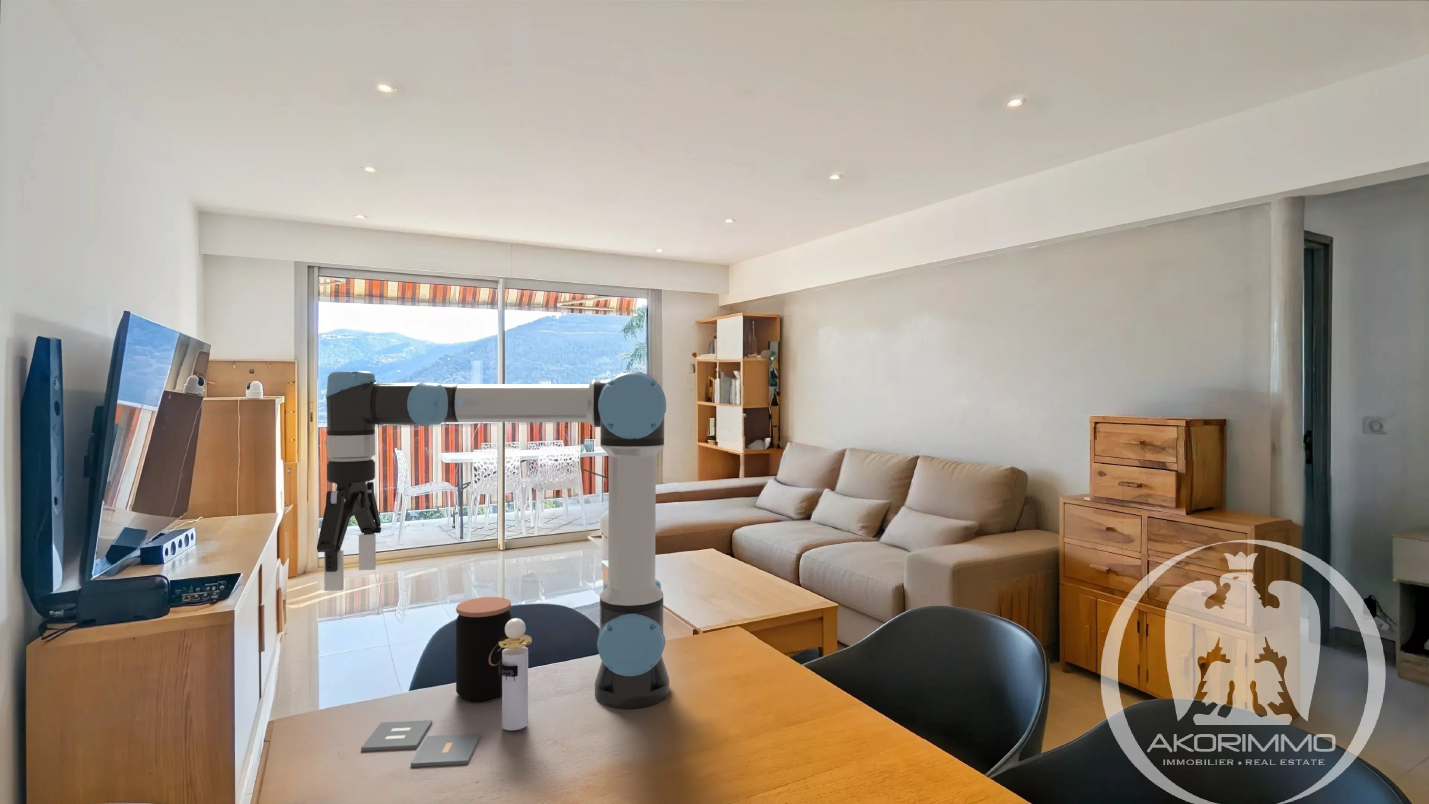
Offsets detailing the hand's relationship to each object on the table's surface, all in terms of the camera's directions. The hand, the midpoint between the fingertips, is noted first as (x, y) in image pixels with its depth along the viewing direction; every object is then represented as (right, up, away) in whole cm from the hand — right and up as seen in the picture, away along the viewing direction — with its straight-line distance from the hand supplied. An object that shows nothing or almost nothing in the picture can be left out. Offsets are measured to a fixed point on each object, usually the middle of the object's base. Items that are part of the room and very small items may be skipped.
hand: (351, 579), depth 120 cm
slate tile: (+19, -28, -4) cm, 34 cm away
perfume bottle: (+28, -28, +4) cm, 40 cm away
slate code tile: (+8, -28, 0) cm, 29 cm away
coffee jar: (+17, -28, +19) cm, 38 cm away
